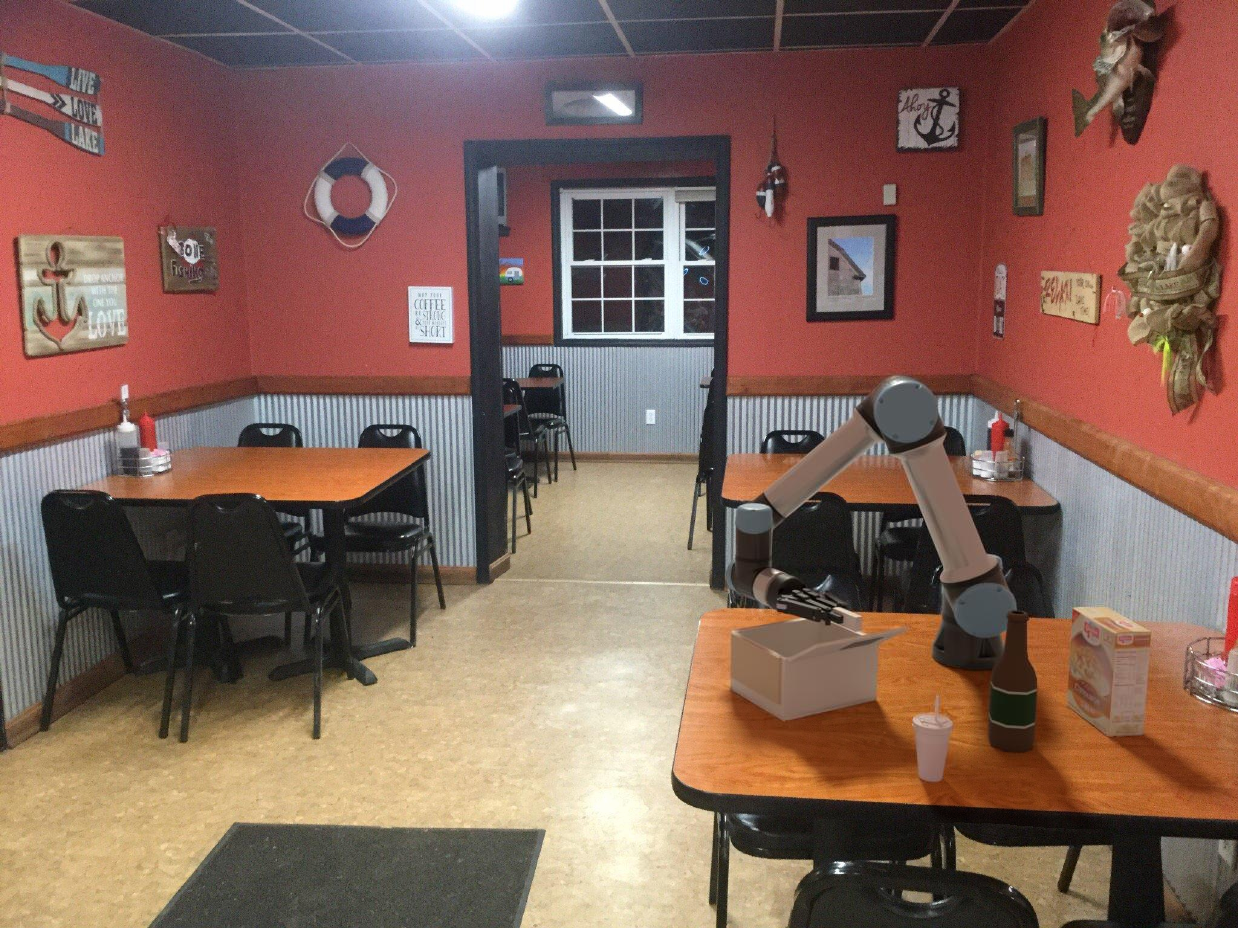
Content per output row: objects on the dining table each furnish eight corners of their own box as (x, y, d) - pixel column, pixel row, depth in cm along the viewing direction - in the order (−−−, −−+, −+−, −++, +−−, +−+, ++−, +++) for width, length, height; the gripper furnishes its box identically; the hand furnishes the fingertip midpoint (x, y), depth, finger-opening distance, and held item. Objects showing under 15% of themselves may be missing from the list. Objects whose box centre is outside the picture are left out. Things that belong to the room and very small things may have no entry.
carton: (726, 688, 214) (726, 631, 212) (819, 669, 224) (821, 614, 222) (780, 721, 197) (782, 659, 195) (878, 699, 208) (881, 640, 206)
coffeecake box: (1064, 704, 205) (1071, 606, 201) (1100, 703, 205) (1107, 605, 202) (1106, 737, 190) (1114, 632, 187) (1145, 735, 191) (1153, 630, 187)
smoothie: (955, 785, 172) (959, 703, 170) (915, 785, 172) (919, 703, 170) (944, 767, 178) (948, 688, 176) (905, 767, 178) (909, 688, 176)
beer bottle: (1028, 757, 182) (1037, 621, 178) (982, 747, 186) (989, 614, 182) (1038, 740, 189) (1046, 609, 185) (992, 731, 193) (999, 603, 189)
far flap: (816, 644, 188) (817, 648, 187) (908, 626, 197) (909, 630, 197) (786, 658, 196) (788, 662, 196) (876, 640, 205) (877, 644, 205)
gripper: (806, 604, 217) (885, 638, 197) (753, 614, 211) (829, 649, 191) (807, 569, 216) (887, 599, 195) (754, 577, 210) (830, 609, 189)
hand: (858, 624), depth 193 cm, fingers closed
